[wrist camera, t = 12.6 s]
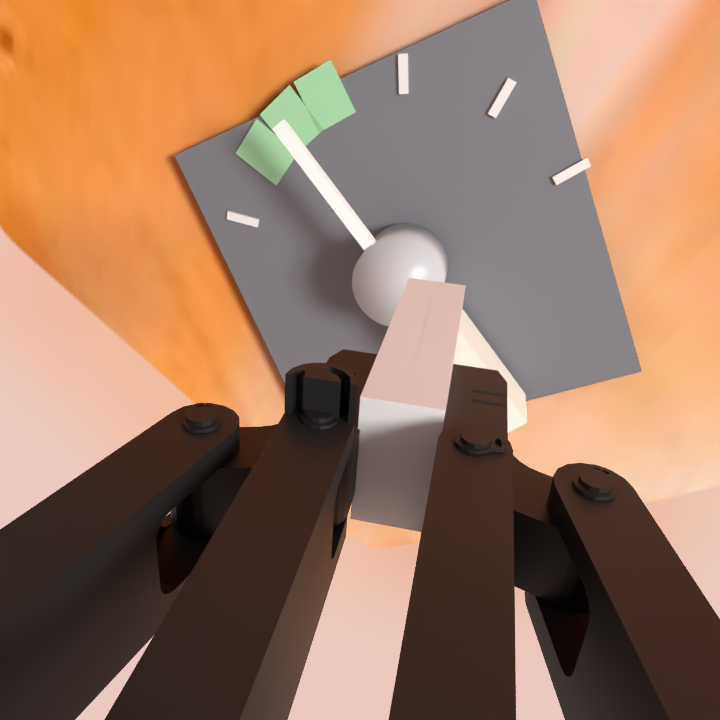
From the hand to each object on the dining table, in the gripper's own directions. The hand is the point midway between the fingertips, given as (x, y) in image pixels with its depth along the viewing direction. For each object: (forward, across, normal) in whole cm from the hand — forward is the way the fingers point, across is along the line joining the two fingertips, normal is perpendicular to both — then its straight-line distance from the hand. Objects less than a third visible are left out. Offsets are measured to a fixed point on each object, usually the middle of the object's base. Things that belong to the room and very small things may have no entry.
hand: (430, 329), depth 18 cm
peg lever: (+22, -3, -5) cm, 23 cm away
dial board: (+23, -3, -5) cm, 24 cm away
